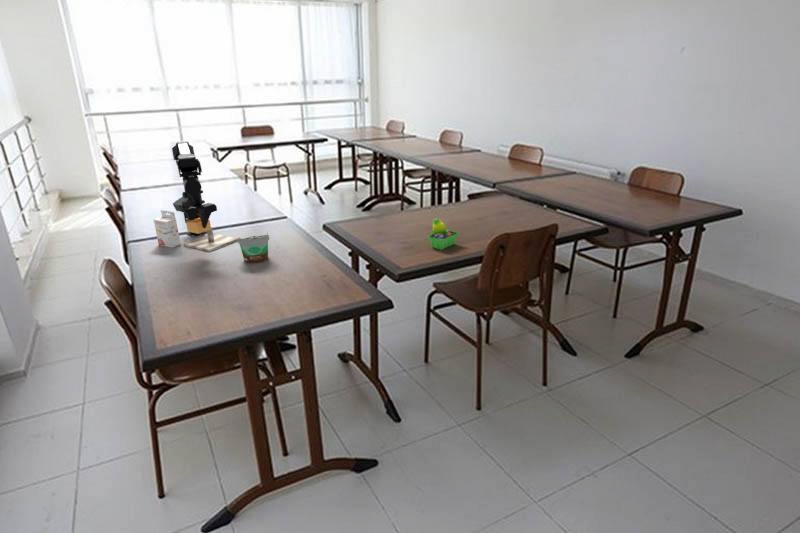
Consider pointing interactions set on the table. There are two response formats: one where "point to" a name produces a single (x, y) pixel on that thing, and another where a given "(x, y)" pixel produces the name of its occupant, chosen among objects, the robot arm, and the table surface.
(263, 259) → the food container
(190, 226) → the orange square ring
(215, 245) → the post board
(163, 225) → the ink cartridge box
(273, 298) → the table surface
